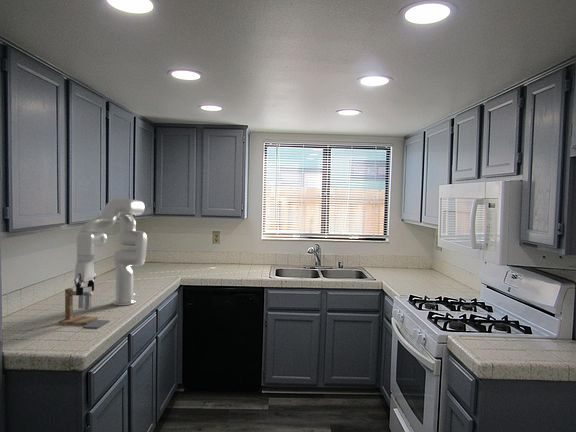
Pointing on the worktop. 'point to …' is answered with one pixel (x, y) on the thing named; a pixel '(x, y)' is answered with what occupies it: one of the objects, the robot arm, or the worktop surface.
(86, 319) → the hook stand
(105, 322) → the rubber mat
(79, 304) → the grey u-shaped bracket
